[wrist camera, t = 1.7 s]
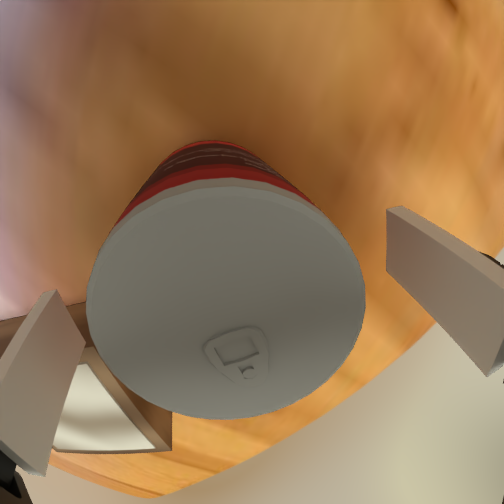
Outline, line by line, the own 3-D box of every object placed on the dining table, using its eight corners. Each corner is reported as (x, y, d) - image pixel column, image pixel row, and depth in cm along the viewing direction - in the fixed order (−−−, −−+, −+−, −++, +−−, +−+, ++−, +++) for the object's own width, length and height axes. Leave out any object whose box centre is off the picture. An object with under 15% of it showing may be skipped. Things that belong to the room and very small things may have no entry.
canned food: (203, 290, 20) (214, 443, 10) (118, 196, 16) (30, 312, 6) (303, 221, 19) (400, 341, 9) (226, 111, 15) (271, 108, 5)
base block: (-3, 321, 18) (-29, 363, 14) (111, 295, 19) (92, 348, 14) (66, 412, 24) (56, 453, 19) (172, 403, 24) (172, 452, 20)
